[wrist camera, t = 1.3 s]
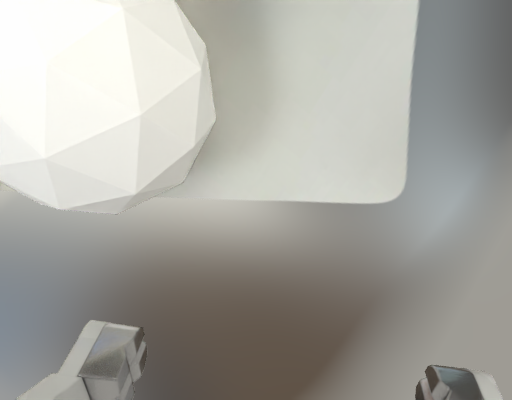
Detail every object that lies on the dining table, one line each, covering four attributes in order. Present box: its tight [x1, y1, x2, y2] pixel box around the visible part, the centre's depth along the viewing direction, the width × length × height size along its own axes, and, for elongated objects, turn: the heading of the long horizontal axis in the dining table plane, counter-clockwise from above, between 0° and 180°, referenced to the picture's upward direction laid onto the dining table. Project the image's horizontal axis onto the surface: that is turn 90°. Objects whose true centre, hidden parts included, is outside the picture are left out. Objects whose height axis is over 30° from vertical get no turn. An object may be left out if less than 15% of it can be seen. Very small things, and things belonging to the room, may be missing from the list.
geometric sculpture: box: [0, 0, 216, 215], centre depth 29 cm, size 19×20×20 cm
